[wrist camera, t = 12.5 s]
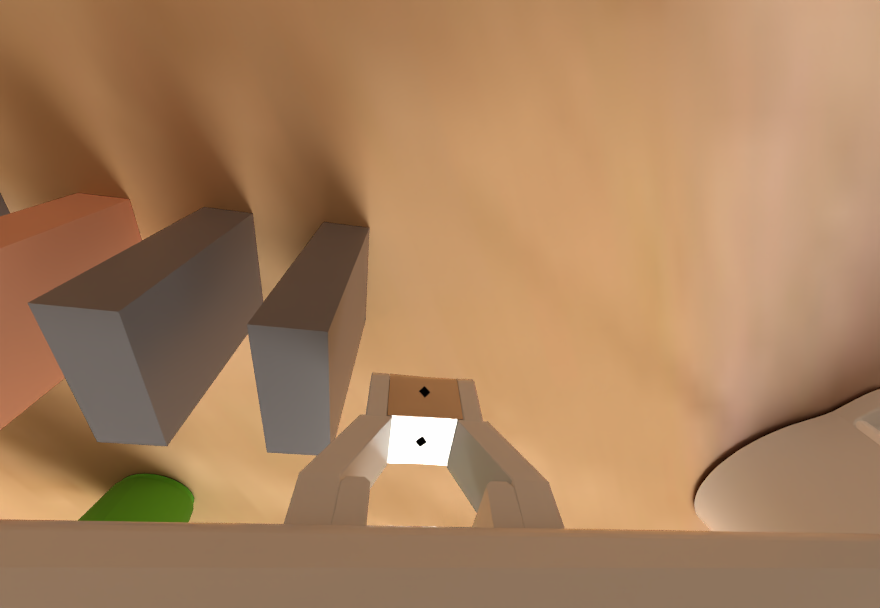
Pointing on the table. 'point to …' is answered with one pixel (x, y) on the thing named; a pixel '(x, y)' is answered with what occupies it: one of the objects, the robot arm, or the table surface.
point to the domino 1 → (48, 281)
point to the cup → (143, 501)
